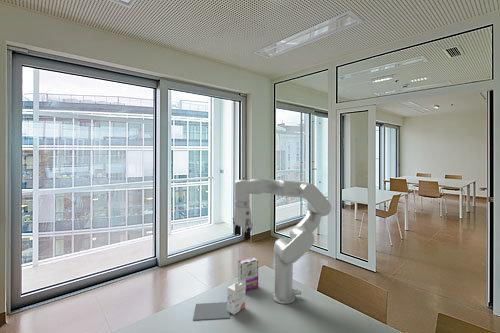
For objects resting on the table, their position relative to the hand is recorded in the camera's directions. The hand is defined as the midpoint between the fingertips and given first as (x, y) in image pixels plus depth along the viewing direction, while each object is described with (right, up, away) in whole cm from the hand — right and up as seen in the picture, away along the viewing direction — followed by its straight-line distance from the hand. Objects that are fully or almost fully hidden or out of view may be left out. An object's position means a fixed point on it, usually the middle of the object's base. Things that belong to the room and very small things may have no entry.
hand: (242, 237), depth 131 cm
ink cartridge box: (-3, -34, -6) cm, 35 cm away
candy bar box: (+3, -34, +16) cm, 38 cm away
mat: (-14, -34, -7) cm, 38 cm away
